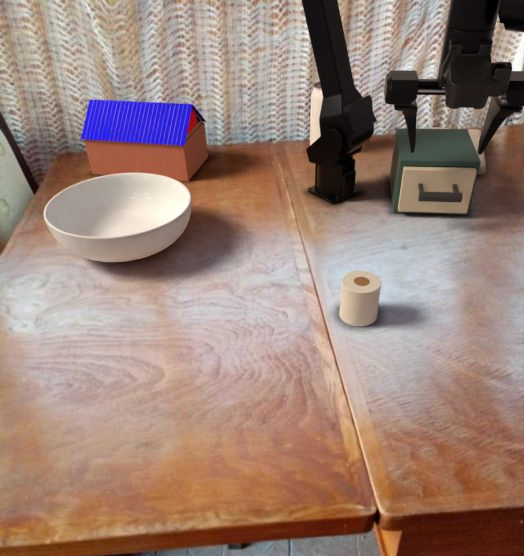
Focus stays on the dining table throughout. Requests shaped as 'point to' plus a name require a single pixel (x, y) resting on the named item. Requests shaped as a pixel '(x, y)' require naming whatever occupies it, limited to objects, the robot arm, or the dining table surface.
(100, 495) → the dining table surface
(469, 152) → the cabinet
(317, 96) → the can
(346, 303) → the toilet paper roll
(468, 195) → the drawer
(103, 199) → the serving bowl
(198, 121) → the house
